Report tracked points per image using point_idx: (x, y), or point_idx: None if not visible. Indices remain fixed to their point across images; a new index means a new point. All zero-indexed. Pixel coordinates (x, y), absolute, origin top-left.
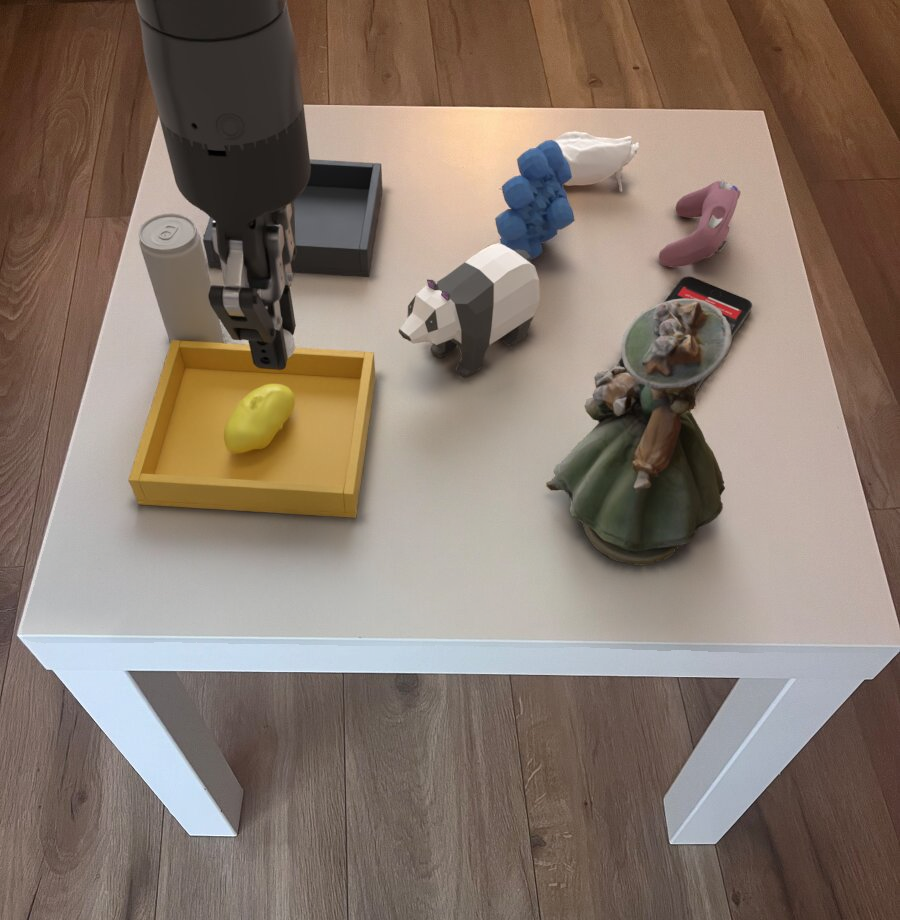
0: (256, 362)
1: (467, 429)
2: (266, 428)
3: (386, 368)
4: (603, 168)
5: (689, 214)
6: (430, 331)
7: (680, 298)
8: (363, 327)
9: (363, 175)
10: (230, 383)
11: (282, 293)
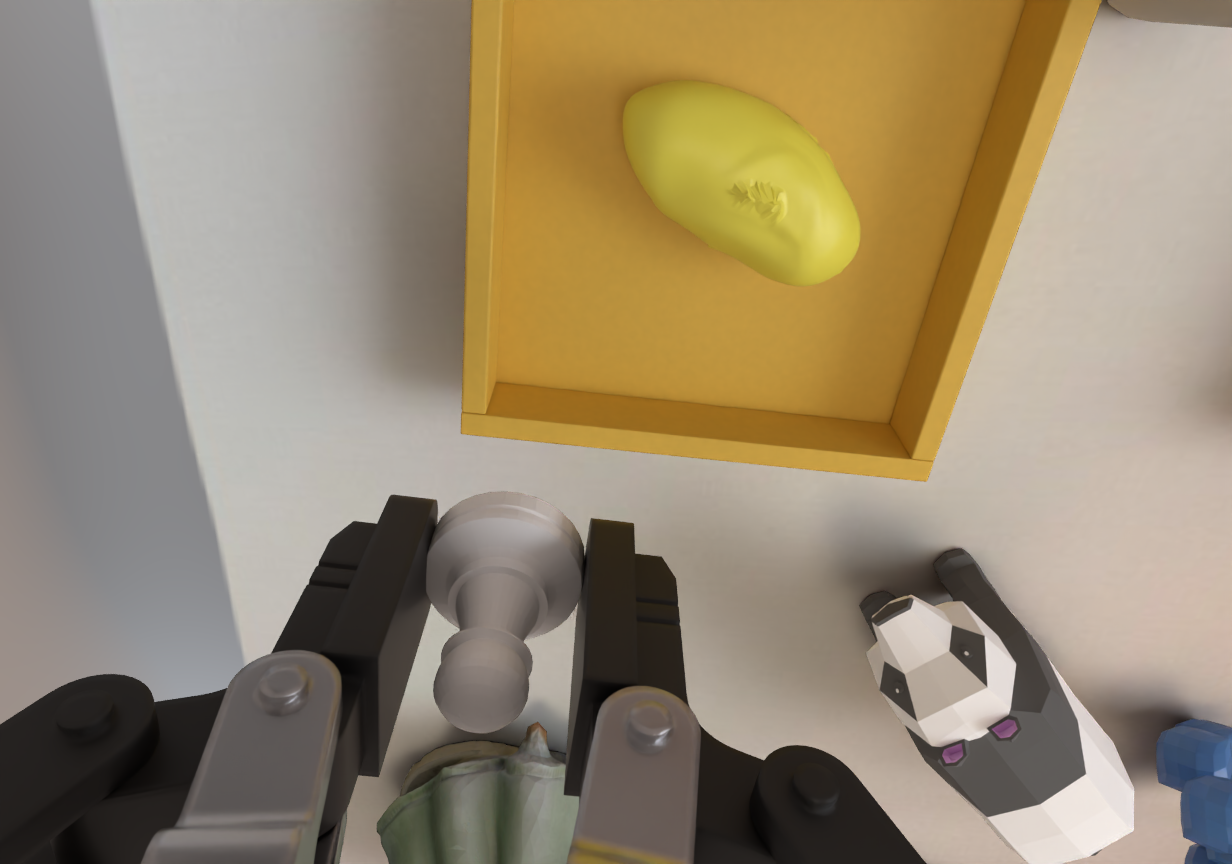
0: (327, 548)
1: (714, 598)
2: (680, 220)
3: None
4: None
5: None
6: (883, 669)
7: None
8: (1084, 411)
9: None
10: (952, 60)
11: (568, 775)
